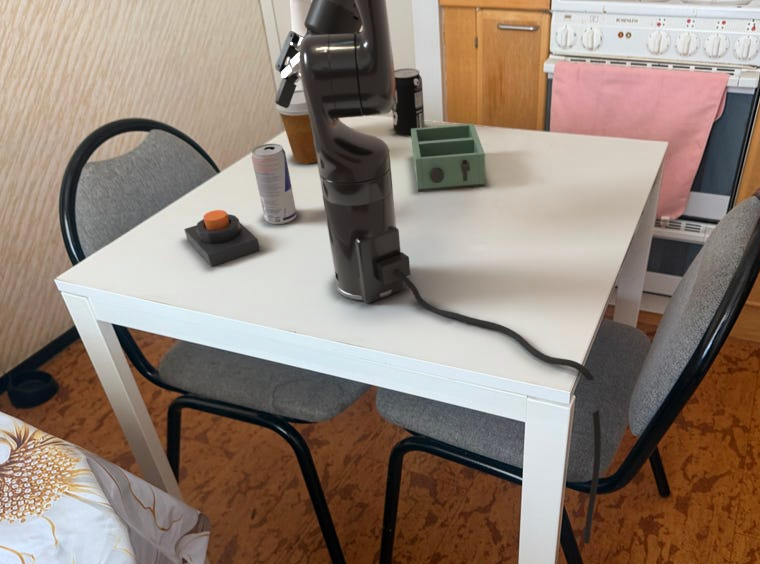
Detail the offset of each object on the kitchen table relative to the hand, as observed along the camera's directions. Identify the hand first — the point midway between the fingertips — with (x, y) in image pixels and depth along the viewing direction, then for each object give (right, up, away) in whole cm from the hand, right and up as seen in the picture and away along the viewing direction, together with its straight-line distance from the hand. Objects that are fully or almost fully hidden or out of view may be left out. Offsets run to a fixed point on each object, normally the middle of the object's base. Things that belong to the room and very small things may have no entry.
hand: (299, 115), depth 103 cm
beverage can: (+15, +12, +45) cm, 49 cm away
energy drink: (-6, -12, +15) cm, 20 cm away
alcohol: (-4, +11, +45) cm, 46 cm away
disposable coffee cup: (-5, +4, +36) cm, 36 cm away
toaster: (+23, -1, +26) cm, 35 cm away
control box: (-14, -18, +8) cm, 24 cm away
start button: (-14, -15, +6) cm, 21 cm away
